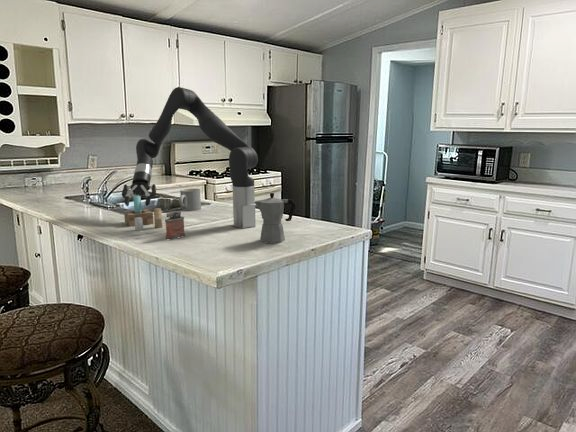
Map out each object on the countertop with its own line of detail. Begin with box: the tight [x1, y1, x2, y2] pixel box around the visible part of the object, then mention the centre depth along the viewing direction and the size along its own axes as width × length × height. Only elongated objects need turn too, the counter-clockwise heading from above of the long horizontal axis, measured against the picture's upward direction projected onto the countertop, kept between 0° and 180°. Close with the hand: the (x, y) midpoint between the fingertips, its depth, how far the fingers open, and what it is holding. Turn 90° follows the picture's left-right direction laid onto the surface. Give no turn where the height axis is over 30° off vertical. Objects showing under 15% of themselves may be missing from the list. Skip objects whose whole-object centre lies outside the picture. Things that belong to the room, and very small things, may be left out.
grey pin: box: [134, 217, 144, 232], centre depth 178 cm, size 3×3×5 cm
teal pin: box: [132, 195, 142, 213], centre depth 190 cm, size 3×3×12 cm
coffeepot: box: [254, 192, 297, 244], centre depth 159 cm, size 15×9×18 cm, turn 90°
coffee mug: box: [178, 188, 202, 212], centre depth 220 cm, size 13×10×10 cm
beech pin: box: [153, 207, 163, 229], centre depth 182 cm, size 3×3×8 cm
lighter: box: [164, 211, 186, 240], centre depth 165 cm, size 8×3×10 cm, turn 141°
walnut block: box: [123, 208, 155, 228], centre depth 190 cm, size 10×10×5 cm
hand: (136, 205), depth 188 cm, fingers open, 8 cm apart
